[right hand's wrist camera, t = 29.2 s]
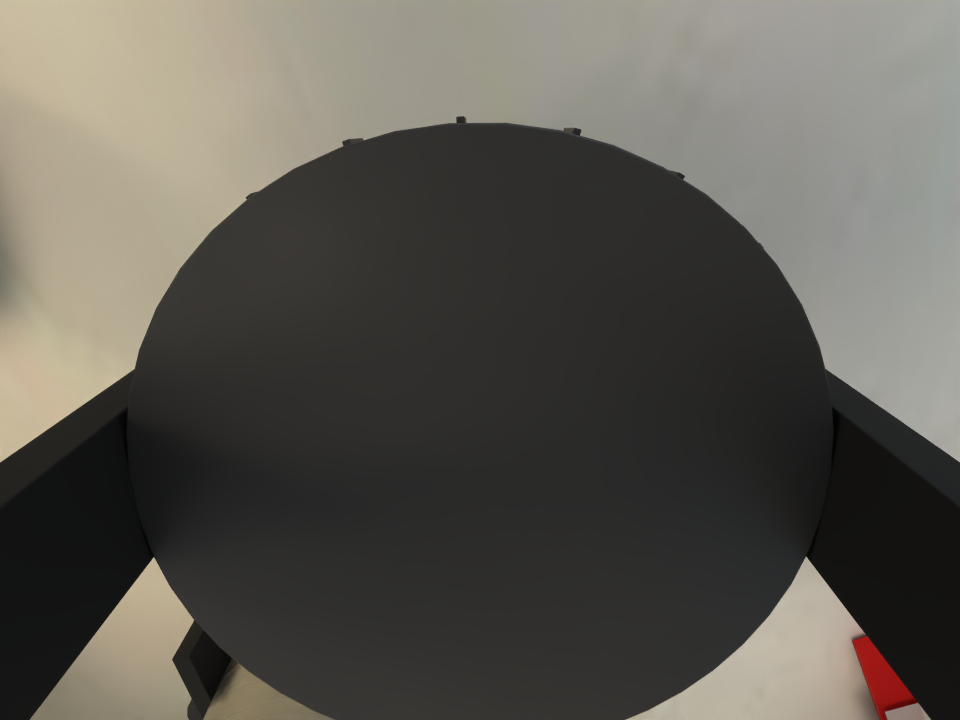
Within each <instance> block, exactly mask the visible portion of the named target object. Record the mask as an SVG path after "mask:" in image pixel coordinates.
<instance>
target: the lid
mask: <svg viewBox="0 0 960 720" xmlns="http://www.w3.org/2000/svg"><path fill="white" fill-rule="evenodd" d="M580 133H581V129H577V128H564V131H561V130H554V129H547V128H539V127H532V126H525V125H517V124H510V123H466V118H465V117H464V116H462V117H457V123H448V124H441V125H434V126H428V127H421V128H414V129H407V130H400V131H394V132H391V133H387V134H384V135H380V136H377V137H374V138H370V139H367V140H363V138H358V139H348V140H345V141H343V142H342V143H343V145H344V146H343V147H341V148H338V149H336V150H334V151H332V152H330V153H327V154H325V155H323V156H321V157H319V158H317V159H314V160H312V161H310V162H308V163H306V164H303V165H301V166H299V167H297V168H295V169H293V170H291V171H290V172H288V173H287V174H285V175H283V176H282V177H280V178H279V179H277V180H276V181H274V182H273V183H271V184H270V185H268V186H266V187H265V188H263V189H262V190H260V191H258V192H255V193H251V194H249V195H248V196H247V197H246V199H247V200H246V201H245V202H244V203H243V204H241V205H240V206H239V207H238V208H237V209H236V210H235V211H234V212H232V213H231V214H230V215H229V216H228V217H227V218H226V219H225V220H223V221H222V222H221V223H220V224H219V225H218V226H217V227H215V228H214V229H213V230H212V231H211V232H210V233H209V235H208V236H207V237H206V238H205V239H204V241H203V242H202V243H201V244H200V245H199V247H198V248H197V249H196V250H195V251H194V253H193V254H192V255H191V256H190V257H189V259H188V260H187V261H186V262H185V263H184V265H183V266H182V267H181V268H180V270H179V271H178V273H177V275H176V276H175V278H174V280H173V281H172V283H171V285H170V286H169V288H168V290H167V291H166V293H165V295H164V296H163V298H162V300H161V301H160V303H159V305H158V306H157V308H156V310H155V313H154V315H153V318H152V320H151V323H150V325H149V327H148V330H147V332H146V335H145V337H144V340H143V342H142V345H141V347H140V350H139V354H138V358H137V362H136V366H135V371H134V375H133V379H132V383H131V388H130V392H129V402H128V415H127V428H126V443H127V456H128V470H129V475H130V480H131V484H132V489H133V494H134V498H135V503H136V507H137V512H138V516H139V520H140V523H141V525H142V528H143V531H144V533H145V536H146V538H147V541H148V544H149V546H150V549H151V552H152V554H153V556H154V558H155V559H156V561H157V563H158V565H159V567H160V569H161V570H162V572H163V574H164V576H165V578H166V580H167V581H168V583H169V585H170V587H171V588H172V590H173V591H174V593H175V594H176V595H177V597H178V598H179V600H180V601H181V602H182V604H183V605H184V606H185V608H186V609H187V611H188V612H189V613H190V615H191V616H192V618H193V619H194V620H195V621H196V622H197V623H198V624H199V625H200V626H201V627H202V629H203V630H204V631H205V632H206V633H207V634H208V635H209V636H210V637H211V638H212V639H213V640H214V641H215V643H216V644H217V645H218V646H219V647H220V648H221V649H223V650H224V651H225V652H226V653H227V654H228V655H230V656H231V657H232V658H233V659H234V660H235V661H237V662H238V663H239V664H240V665H241V666H242V667H244V668H245V669H246V670H247V671H248V672H250V673H251V674H253V675H254V676H256V677H257V678H259V679H260V680H262V681H263V682H264V683H266V684H267V685H269V686H270V687H272V688H273V689H275V690H276V691H278V692H279V693H281V694H283V695H284V696H286V697H288V698H290V699H292V700H294V701H296V702H298V703H300V704H301V705H303V706H305V707H307V708H309V709H311V710H313V711H315V712H317V713H320V714H322V715H324V716H327V717H329V718H332V719H334V720H626V719H628V718H630V717H633V716H635V715H638V714H640V713H643V712H645V711H647V710H649V709H651V708H653V707H655V706H657V705H659V704H660V703H662V702H664V701H666V700H668V699H670V698H672V697H673V696H675V695H677V694H679V693H681V692H682V691H684V690H685V689H687V688H688V687H690V686H691V685H693V684H694V683H696V682H697V681H698V680H700V679H701V678H703V677H704V676H706V675H707V674H709V673H710V672H711V671H713V670H714V669H715V668H716V667H718V666H719V665H720V664H721V663H722V662H723V661H725V660H726V659H727V658H728V657H729V656H730V655H731V654H733V653H734V652H735V651H736V650H737V649H738V648H739V647H741V646H742V645H743V644H744V643H745V642H746V641H747V639H748V638H749V637H750V636H751V635H752V634H753V633H754V632H755V631H756V630H757V628H758V627H759V626H760V625H761V624H762V623H763V622H764V621H765V620H766V619H767V617H768V616H769V615H770V614H771V612H772V611H773V609H774V608H775V606H776V605H777V604H778V602H779V601H780V599H781V598H782V597H783V595H784V594H785V592H786V591H787V589H788V588H789V587H790V585H791V584H792V582H793V580H794V578H795V576H796V574H797V572H798V570H799V569H800V567H801V565H802V563H803V561H804V559H805V557H806V555H807V553H808V551H809V550H810V547H811V544H812V541H813V539H814V536H815V533H816V530H817V528H818V525H819V522H820V519H821V517H822V513H823V509H824V504H825V500H826V495H827V490H828V486H829V481H830V477H831V472H832V456H833V440H834V426H833V415H832V404H831V393H830V387H829V383H828V379H827V375H826V371H825V367H824V363H823V359H822V355H821V351H820V347H819V344H818V342H817V339H816V337H815V335H814V332H813V330H812V328H811V325H810V323H809V320H808V318H807V316H806V313H805V311H804V309H803V306H802V304H801V303H800V301H799V299H798V298H797V296H796V294H795V293H794V291H793V290H792V288H791V286H790V285H789V283H788V282H787V280H786V278H785V277H784V275H783V273H782V272H781V270H780V269H779V267H778V265H777V264H776V263H775V262H774V261H773V259H772V258H771V257H770V256H769V255H768V254H767V252H766V251H765V250H764V249H763V247H762V245H761V244H760V243H758V242H757V241H756V240H755V238H754V237H753V236H752V235H751V234H750V233H749V231H748V230H747V229H746V228H745V227H744V226H743V225H741V224H740V223H739V222H738V221H737V220H736V219H734V218H733V217H732V216H731V215H730V214H729V213H728V212H726V211H725V210H724V209H723V208H722V207H721V206H719V205H718V204H717V203H716V202H715V201H714V200H712V199H711V198H710V197H709V196H708V195H706V194H705V193H703V192H702V191H700V190H698V189H697V188H695V187H694V186H692V185H691V184H689V183H687V182H686V181H684V180H683V179H684V177H685V176H684V175H683V174H681V173H679V172H674V171H670V170H667V169H665V168H664V167H662V166H659V165H657V164H655V163H653V162H650V161H648V160H646V159H644V158H641V157H639V156H637V155H635V154H632V153H630V152H628V151H626V150H623V149H621V148H619V147H617V146H614V145H611V144H607V143H604V142H600V141H597V140H593V139H590V138H586V137H583V136H580Z"/></svg>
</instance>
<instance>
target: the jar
mask: <svg viewBox="0 0 960 720" xmlns="http://www.w3.org/2000/svg"><path fill="white" fill-rule="evenodd" d="M203 720H334V719H332V718H329V717H327V716H324V715H322V714H320V713H317V712H315V711H313V710H311V709H309V708H307V707H305V706H303V705H301V704H300V703H298V702H296V701H294V700H292V699H290V698H288V697H286V696H284V695H283V694H281V693H279V692H278V691H276V690H275V689H273V688H272V687H270V686H269V685H267V684H266V683H264V682H263V681H262V680H260V679H259V678H257V677H256V676H254V675H253V674H251V673H250V672H248V671H247V670H246V669H245V668H244V667H242V666H241V665H240V664H239V663H238V662H237V661H235V660H234V659H233V658H231V660H230V662H229V664H228V667H227V669H226V671H225V673H224V675H223V677H222V680H221V682H220V684H219V686H218V688H217V690H216V693H215V695H214V697H213V699H212V701H211V703H210V706H209V708H208V710H207V712H206V714H205V717H204V719H203Z"/></svg>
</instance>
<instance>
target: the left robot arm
mask: <svg viewBox="0 0 960 720" xmlns="http://www.w3.org/2000/svg"><path fill="white" fill-rule="evenodd" d="M231 658H232V657H231V656H230V655H228V654H227V653H226V652H225V651H224V650H223V649H221V648H220V647H219V646H218V645H217V644H216V643H215V641H214V640H213V639H212V638H211V637H210V636H209V635H208V634H207V633H206V632H205V631H204V630H203V629H202V627H201V626H200V625H199V624H198V623H197V622H196V621H195V620H194V622H193V624H192V626H191V627H190V629H189V631H188V633H187V634H186V636H185V638H184V640H183V641H182V643H181V645H180V647H179V648H178V650H177V652H176V654H175V655H174V657H173V659H172V660H173V662H174V664H175V666H176V668H177V670H178V672H179V674H180V676H181V678H182V680H183V682H184V684H185V686H186V688H187V690H188V692H189V694H190V696H191V698H192V700H191V702H190V704H189V706H188V718H189V720H203V719H204V717H205V714H206V712H207V710H208V708H209V706H210V703H211V701H212V699H213V697H214V695H215V693H216V690H217V688H218V686H219V684H220V682H221V680H222V677H223V675H224V673H225V671H226V669H227V667H228V664H229V662H230V660H231Z"/></svg>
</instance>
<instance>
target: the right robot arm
mask: <svg viewBox="0 0 960 720" xmlns="http://www.w3.org/2000/svg"><path fill="white" fill-rule="evenodd" d="M134 371H135V369H134V370H133V371H131V372H130V373H129V374H127V375H126V376H124V377H123V378H121V379H120V380H118V381H117V382H116V383H114V384H113V385H111V386H110V387H108V388H107V389H106V390H104V391H103V392H101V393H100V394H98V395H97V396H95V397H94V398H93V399H91V400H90V401H88V402H87V403H85V404H84V405H83V406H81V407H80V408H78V409H77V410H75V411H74V412H72V413H71V414H70V415H68V416H67V417H65V418H64V419H62V420H61V421H59V422H58V423H57V424H55V425H54V426H52V427H51V428H49V429H48V430H47V431H45V432H44V433H42V434H41V435H39V436H38V437H36V438H35V439H34V440H32V441H31V442H29V443H28V444H26V445H25V446H24V447H22V448H21V449H19V450H18V451H16V452H15V453H13V454H12V455H11V456H9V457H8V458H6V459H5V460H3V461H2V462H1V463H0V720H30V719H31V717H32V716H33V715H34V713H35V712H36V711H37V709H38V708H39V707H40V705H41V704H42V703H43V701H44V700H45V699H46V698H47V696H48V695H49V694H50V692H51V691H52V690H53V688H54V687H55V686H56V684H57V683H58V682H59V680H60V679H61V678H62V677H63V675H64V674H65V673H66V671H67V670H68V669H69V667H70V666H71V665H72V663H73V662H74V661H75V659H76V658H77V657H78V656H79V654H80V653H81V652H82V650H83V649H84V648H85V646H86V645H87V644H88V642H89V641H90V640H91V639H92V637H93V636H94V635H95V633H96V632H97V631H98V629H99V628H100V627H101V625H102V624H103V623H104V621H105V620H106V619H107V618H108V616H109V615H110V614H111V612H112V611H113V610H114V608H115V607H116V606H117V604H118V603H119V602H120V600H121V599H122V598H123V597H124V595H125V594H126V593H127V591H128V590H129V589H130V587H131V586H132V585H133V583H134V582H135V581H136V579H137V578H138V577H139V576H140V574H141V573H142V572H143V570H144V569H145V568H146V566H147V565H148V564H149V562H150V561H151V560H152V558H153V557H154V556H153V554H152V552H151V549H150V546H149V544H148V541H147V538H146V536H145V533H144V531H143V528H142V525H141V523H140V520H139V516H138V512H137V507H136V503H135V498H134V494H133V489H132V484H131V480H130V475H129V470H128V456H127V443H126V428H127V415H128V402H129V392H130V388H131V383H132V379H133V375H134ZM825 371H826V375H827V379H828V383H829V387H830V393H831V404H832V415H833V426H834V440H833V456H832V472H831V477H830V481H829V486H828V490H827V495H826V500H825V504H824V509H823V513H822V517H821V519H820V522H819V525H818V528H817V530H816V533H815V536H814V539H813V541H812V544H811V547H810V550H809V551H808V553H807V555H806V557H807V558H808V559H809V561H810V562H811V563H812V564H813V566H814V567H815V568H816V570H817V571H818V572H819V574H820V575H821V576H822V578H823V579H824V580H825V582H826V583H827V584H828V585H829V587H830V588H831V589H832V591H833V592H834V593H835V595H836V596H837V597H838V599H839V600H840V601H841V602H842V604H843V605H844V606H845V608H846V609H847V610H848V612H849V613H850V614H851V616H852V617H853V618H854V620H855V621H856V622H857V623H858V625H859V626H860V627H861V629H862V630H863V631H864V633H865V634H866V635H867V637H868V638H869V639H870V641H871V642H872V643H873V644H874V646H875V647H876V648H877V650H878V651H879V652H880V654H881V655H882V656H883V658H884V659H885V660H886V662H887V663H888V664H889V665H890V667H891V668H892V669H893V671H894V672H895V673H896V675H897V676H898V677H899V679H900V680H901V681H902V682H903V684H904V685H905V686H906V688H907V689H908V690H909V692H910V693H911V694H912V696H913V697H914V698H915V700H916V701H917V702H918V703H919V705H920V706H921V707H922V709H923V710H924V711H925V713H926V714H927V715H928V717H929V718H930V719H931V720H960V462H959V461H957V460H956V459H954V458H953V457H951V456H950V455H948V454H947V453H946V452H944V451H943V450H941V449H940V448H938V447H937V446H936V445H934V444H933V443H931V442H930V441H928V440H927V439H925V438H924V437H923V436H921V435H920V434H918V433H917V432H915V431H914V430H913V429H911V428H910V427H908V426H907V425H905V424H904V423H902V422H901V421H900V420H898V419H897V418H895V417H894V416H892V415H891V414H889V413H888V412H887V411H885V410H884V409H882V408H881V407H879V406H878V405H877V404H875V403H874V402H872V401H871V400H869V399H868V398H866V397H865V396H864V395H862V394H861V393H859V392H858V391H856V390H855V389H854V388H852V387H851V386H849V385H848V384H846V383H845V382H843V381H842V380H841V379H839V378H838V377H836V376H835V375H833V374H832V373H831V372H829V371H828V370H826V369H825Z"/></svg>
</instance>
